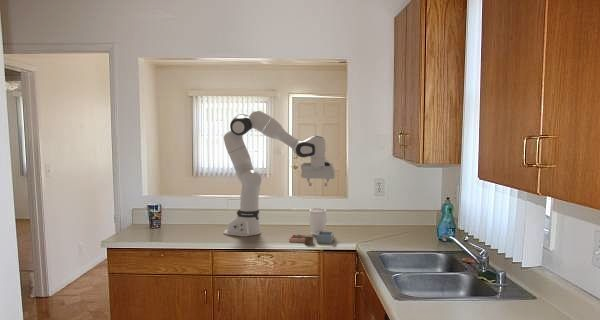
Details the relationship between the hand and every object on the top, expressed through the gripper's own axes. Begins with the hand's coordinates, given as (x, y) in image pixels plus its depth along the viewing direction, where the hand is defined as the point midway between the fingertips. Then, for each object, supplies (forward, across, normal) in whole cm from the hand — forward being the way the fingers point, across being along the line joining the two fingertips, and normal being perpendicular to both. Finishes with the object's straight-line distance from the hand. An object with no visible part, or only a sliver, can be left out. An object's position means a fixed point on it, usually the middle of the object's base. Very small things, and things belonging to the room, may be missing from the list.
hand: (318, 186), depth 252 cm
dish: (+29, -8, -18) cm, 35 cm away
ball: (+29, -8, -18) cm, 35 cm away
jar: (+30, 0, 0) cm, 30 cm away
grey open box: (+29, +7, -17) cm, 34 cm away
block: (+29, -1, -24) cm, 38 cm away
